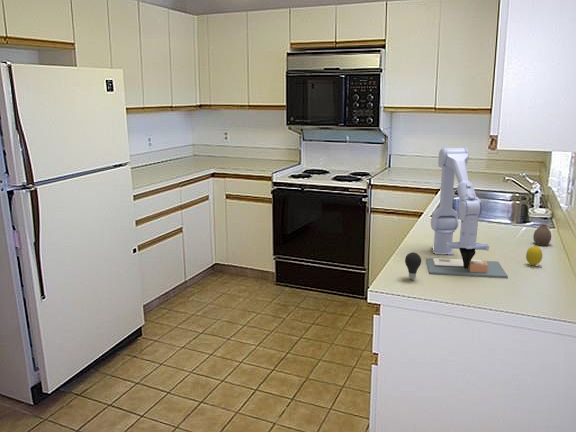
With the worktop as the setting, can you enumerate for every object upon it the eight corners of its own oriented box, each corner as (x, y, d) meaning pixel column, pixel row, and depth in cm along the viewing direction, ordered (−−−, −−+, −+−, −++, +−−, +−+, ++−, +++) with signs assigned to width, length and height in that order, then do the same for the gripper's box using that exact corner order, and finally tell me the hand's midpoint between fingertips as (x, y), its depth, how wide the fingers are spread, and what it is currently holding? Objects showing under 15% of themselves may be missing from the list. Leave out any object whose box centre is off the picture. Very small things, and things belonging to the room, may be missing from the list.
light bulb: (408, 283, 176) (410, 256, 173) (401, 277, 181) (402, 251, 179) (423, 281, 177) (424, 254, 175) (415, 275, 183) (416, 249, 180)
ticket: (432, 259, 197) (433, 257, 197) (481, 261, 194) (481, 260, 194) (434, 266, 190) (435, 264, 190) (485, 269, 187) (485, 267, 186)
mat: (425, 259, 200) (426, 257, 199) (498, 263, 195) (498, 261, 194) (429, 274, 184) (429, 272, 184) (507, 278, 179) (507, 276, 179)
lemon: (527, 262, 196) (529, 242, 194) (542, 265, 192) (545, 245, 190) (523, 266, 192) (525, 246, 190) (538, 269, 188) (541, 248, 186)
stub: (468, 268, 187) (468, 260, 187) (485, 269, 186) (485, 261, 185) (469, 272, 183) (470, 263, 183) (487, 272, 182) (488, 264, 182)
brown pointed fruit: (534, 246, 215) (536, 226, 213) (530, 241, 222) (533, 222, 220) (552, 247, 214) (554, 227, 211) (548, 242, 220) (550, 223, 218)
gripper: (449, 234, 180) (446, 270, 183) (492, 236, 177) (488, 272, 180) (446, 229, 186) (444, 264, 190) (488, 230, 184) (484, 266, 187)
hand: (465, 267), depth 185 cm, fingers closed
